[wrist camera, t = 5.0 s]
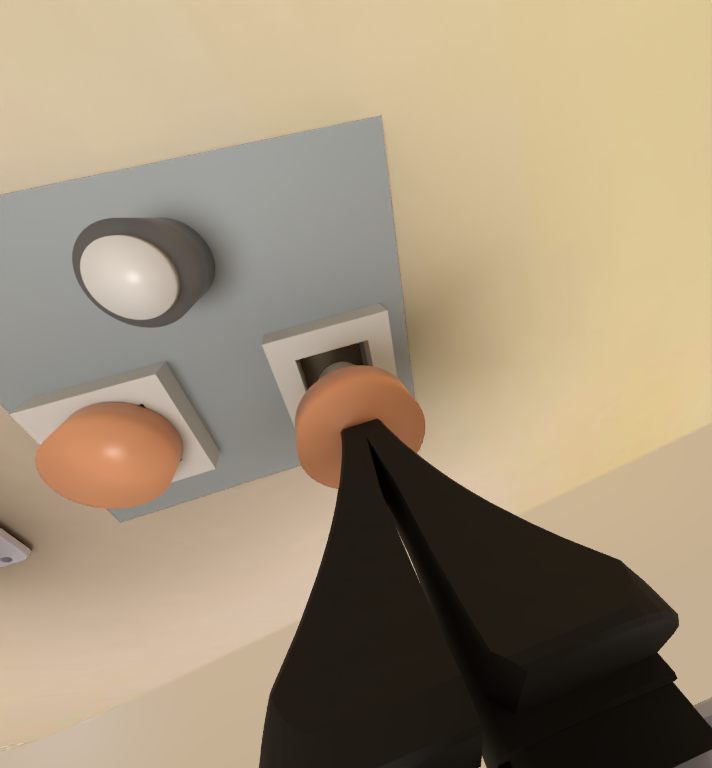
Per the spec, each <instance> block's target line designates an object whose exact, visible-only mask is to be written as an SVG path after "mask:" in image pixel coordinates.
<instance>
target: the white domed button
mask: <svg viewBox="0 0 712 768" xmlns="http://www.w3.org/2000/svg"><path fill="white" fill-rule="evenodd" d="M72 264H73V270H74V273H75V276H76V279H77V281H78V283H79V285H80V287H81V288H82V290H83V291H84V293H85V294H86V295H87V297H88V298H89V299H90V300H91V301H92V302H93V303H94V304H95V305H96V306H97V307H98V308H99V309H101V310H102V311H103V312H105V313H106V314H108V315H109V316H111V317H113V318H115V319H117V320H119V321H121V322H124V323H126V324H129V325H133V326H137V327H144V328H155V327H162V326H166V325H169V324H172V323H174V322H176V321H177V320H179V319H180V318H182V317H183V316H184V315H185V314H186V313H187V312H188V311H189V310H190V308H191V307H192V306H193V305H194V304H195V303H196V302H197V301H198V300H199V299H200V298H201V297H202V296H203V295H204V294H205V293H206V292H207V291H208V289H209V288H210V287H211V285H212V283H213V280H214V276H215V262H214V257H213V255H212V252H211V250H210V248H209V246H208V245H207V243H206V242H205V240H204V239H203V238H202V237H201V236H200V235H199V234H198V233H197V232H196V231H195V230H194V229H192V228H191V227H189V226H188V225H186V224H184V223H182V222H180V221H177V220H174V219H170V218H107V219H103V220H99V221H96V222H94V223H92V224H90V225H89V226H88V227H86V228H85V229H84V230H83V231H82V232H81V233H80V234H79V236H78V238H77V239H76V241H75V244H74V247H73V252H72Z"/></svg>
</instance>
